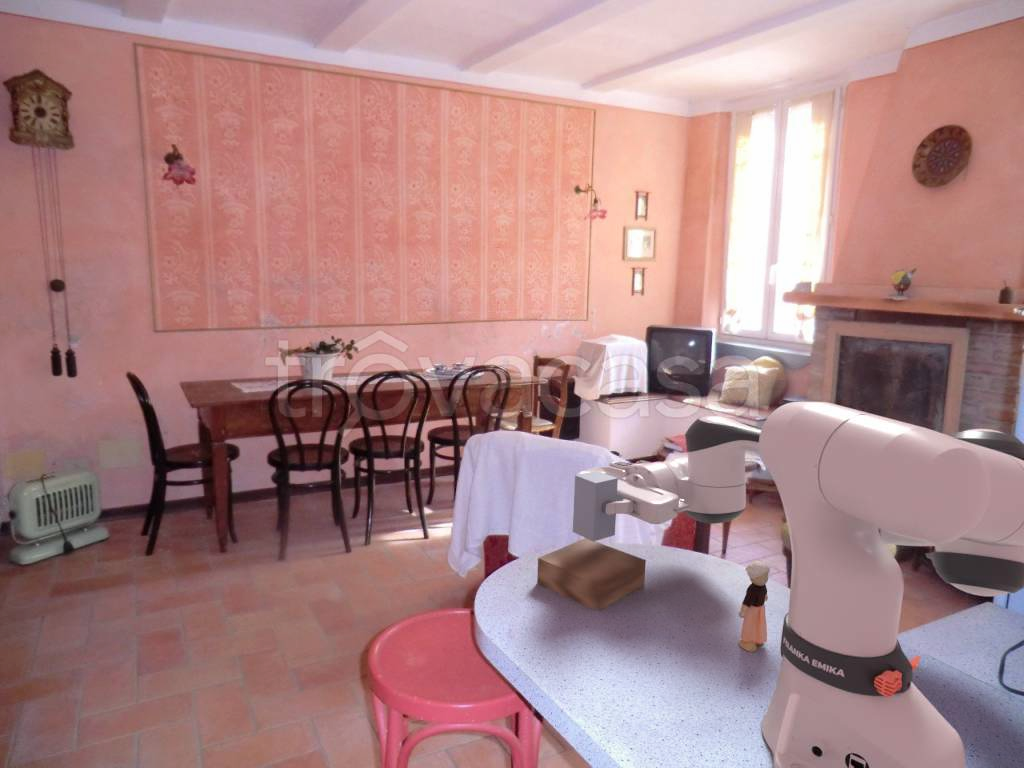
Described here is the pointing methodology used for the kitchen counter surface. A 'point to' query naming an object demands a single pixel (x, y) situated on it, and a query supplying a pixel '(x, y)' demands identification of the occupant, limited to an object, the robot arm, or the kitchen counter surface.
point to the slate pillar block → (594, 505)
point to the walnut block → (591, 573)
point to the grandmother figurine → (754, 607)
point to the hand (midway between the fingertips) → (591, 503)
